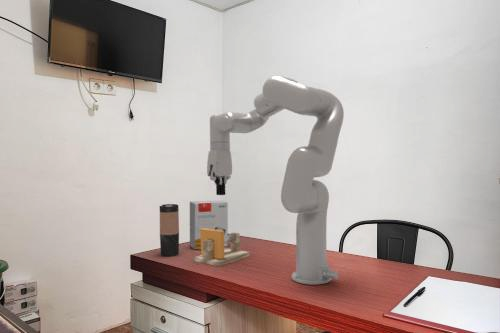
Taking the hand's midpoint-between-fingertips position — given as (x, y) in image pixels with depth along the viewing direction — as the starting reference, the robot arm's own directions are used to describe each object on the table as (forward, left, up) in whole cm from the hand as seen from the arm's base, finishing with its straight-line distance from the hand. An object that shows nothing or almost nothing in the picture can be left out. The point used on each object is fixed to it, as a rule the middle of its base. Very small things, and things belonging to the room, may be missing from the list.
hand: (220, 194), depth 149 cm
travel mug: (+22, +6, -25) cm, 34 cm away
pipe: (0, -1, -19) cm, 19 cm away
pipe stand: (0, -1, -25) cm, 25 cm away
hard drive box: (+18, -13, -25) cm, 33 cm away
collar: (0, +5, -23) cm, 23 cm away
